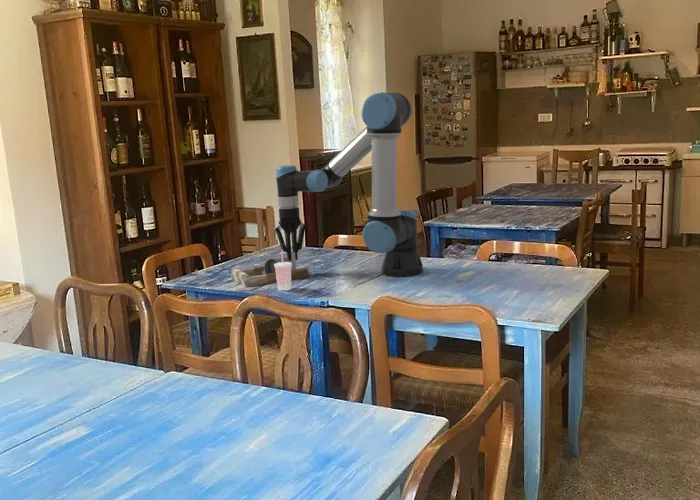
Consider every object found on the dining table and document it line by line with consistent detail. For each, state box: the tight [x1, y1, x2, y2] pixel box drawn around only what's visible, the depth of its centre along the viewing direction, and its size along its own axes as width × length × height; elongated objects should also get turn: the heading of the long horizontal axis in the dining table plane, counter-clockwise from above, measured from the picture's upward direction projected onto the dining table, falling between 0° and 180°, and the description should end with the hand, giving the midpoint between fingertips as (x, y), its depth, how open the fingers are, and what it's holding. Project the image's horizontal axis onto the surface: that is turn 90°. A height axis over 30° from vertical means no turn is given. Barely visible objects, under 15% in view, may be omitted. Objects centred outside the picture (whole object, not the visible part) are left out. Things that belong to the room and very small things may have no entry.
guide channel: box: [230, 265, 309, 288], centre depth 266 cm, size 16×24×4 cm, turn 116°
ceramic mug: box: [262, 255, 290, 274], centre depth 267 cm, size 11×8×8 cm
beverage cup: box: [274, 248, 292, 291], centre depth 247 cm, size 6×6×14 cm
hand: (293, 268), depth 270 cm, fingers closed
